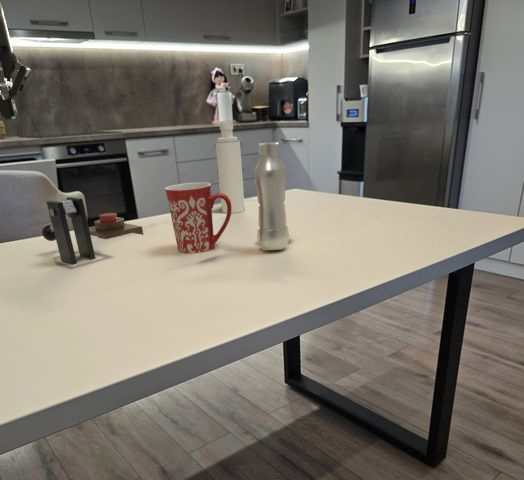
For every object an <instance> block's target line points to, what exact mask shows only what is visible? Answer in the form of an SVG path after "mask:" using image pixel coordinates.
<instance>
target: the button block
mask: <svg viewBox="0 0 524 480" xmlns="http://www.w3.org/2000/svg"><path fill="white" fill-rule="evenodd" d="M117 219H118V220H117V221H113V222H100V218H99V219H96V220H94V222H93V223H94V225H92V226H89V231H90V235H91V236H95V237H98V238H100V239H104V240H108V239H113V238H118V237H121V236H125V235H129V234H136V235H142V236H144V230H143V226H142V225H136V224H133V223H132V224H131V223H127V222H126V223H125V219H124V217H120V216H119V217H118V216H117Z"/></svg>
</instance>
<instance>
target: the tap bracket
mask: <svg viewBox="0 0 524 480" xmlns="http://www.w3.org/2000/svg"><path fill="white" fill-rule="evenodd" d="M67 200H72V202H73V204H74V206H75V208H76V210H77V212H76V213H75V215H74V216H73V217H72V218H70V219H71V224H72V229H73V233H74V236H75V240H76V245H77V249H78V253H79V257H80V258H83V259H87V260H91V261H92V260H95V259H96V255H95V249H94V245H93V241H92V235H90V231H89V227H90V226H89V222H88V218H87V214H86V208H85V204H84V199H83V198H82V197H74V196H68V197H66V201H67ZM46 206H47V210H48V215H49V217H50V222H51V225H52V226H53V230H54V234H55V238H56V240H55V241H56V246H57V249H58V252H59V258H60V261H61V262H62V263H65V264H68V265H71V266H74V265H77V264H78V261H77V257H76V253H75V249H74V245H73V244H74V243H73V240H72V237H71V233H70V227H69V224H68V220H67V219H68V218H67V219H66V215H65V211H64V207H63V203H62V202H61V201H58V200H46Z"/></svg>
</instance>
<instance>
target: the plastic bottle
mask: <svg viewBox="0 0 524 480" xmlns="http://www.w3.org/2000/svg"><path fill="white" fill-rule="evenodd" d="M279 149H280V147H279V142H263V143H258V150H259V151H258V154H259V155H260V158H259V160H258V162H257V164H256V166H255V168H254V170H253V180H254V185H255V191H256V197H257V204H258V205H257V207H258V223H257V225H258V227H257V234H256V238H257V243H258V246H259V248H260V249H261V250H264V251H278V250H282V249H285V248H287V246H288V244H289V239H290V232H289V227H288V225H287V224H288V223H287V212H286V188H287V177H288V171H287V168H286V166H285V164H284V162H283V161H282V160H281V159H280V157H279V154H280V150H279Z"/></svg>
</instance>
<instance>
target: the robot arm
mask: <svg viewBox="0 0 524 480" xmlns="http://www.w3.org/2000/svg"><path fill="white" fill-rule="evenodd" d="M5 18H6V17H5V14H4V10H3V6H2V3H1V2H0V115H1V117H3V118H4V119H5V121H7V120H8V121H9V120H10V121H11V120H16V119H17V116H18V111H17V106H16V103H15V98H16V97H18V96H21V95H22V93H23V90H24V88H25V86H26V83H27V82H28V79H29V76H30V74H31V71H32V70H31V67H29V66H27V65H24V64H23V63H22V62H19V61H18V57H17V55H16V54H15V53H14V51H13V46H12V41H11V37H10V34H9V30H8V26H7V22H6V19H5ZM14 73H16V76H15V78H14V81H13V80H12V78H13V76H14Z"/></svg>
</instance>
